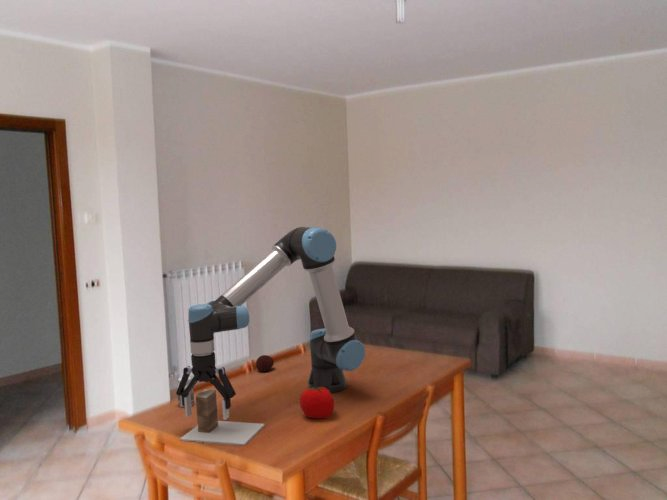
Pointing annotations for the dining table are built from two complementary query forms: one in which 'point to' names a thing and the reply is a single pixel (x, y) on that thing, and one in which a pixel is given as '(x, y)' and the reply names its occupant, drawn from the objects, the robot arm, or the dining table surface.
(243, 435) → the mat
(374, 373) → the dining table surface
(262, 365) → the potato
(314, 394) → the tomato
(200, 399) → the slab
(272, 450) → the dining table surface
